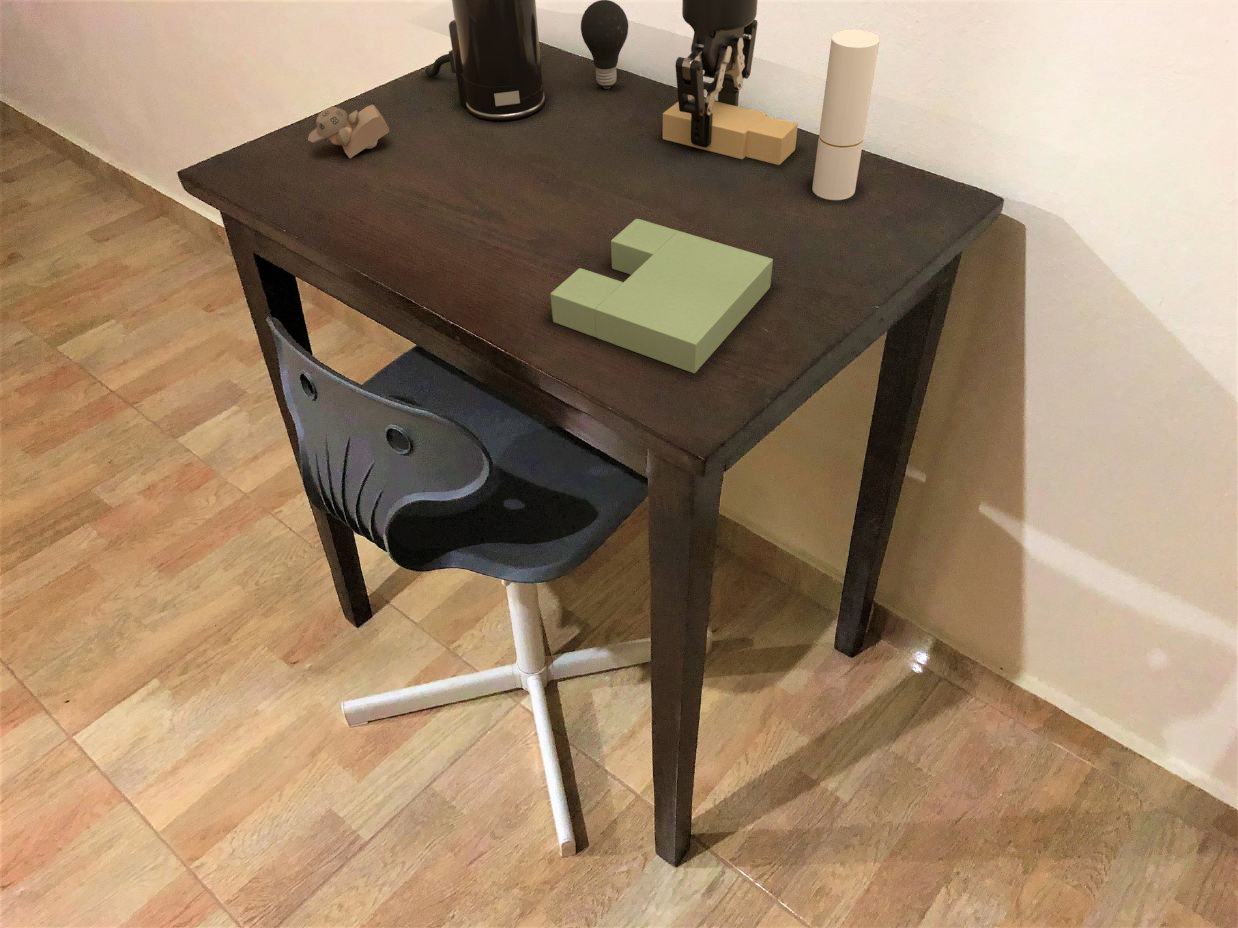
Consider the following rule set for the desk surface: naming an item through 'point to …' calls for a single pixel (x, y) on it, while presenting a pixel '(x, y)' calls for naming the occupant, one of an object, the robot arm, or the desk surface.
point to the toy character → (350, 129)
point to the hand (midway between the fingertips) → (714, 133)
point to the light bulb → (604, 37)
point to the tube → (844, 112)
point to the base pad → (665, 294)
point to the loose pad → (736, 132)
